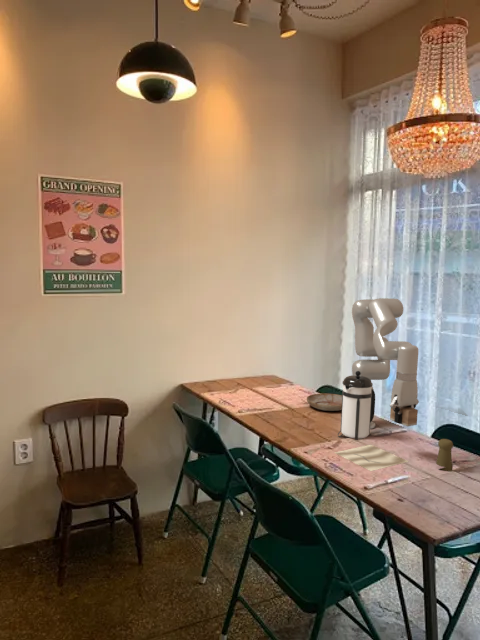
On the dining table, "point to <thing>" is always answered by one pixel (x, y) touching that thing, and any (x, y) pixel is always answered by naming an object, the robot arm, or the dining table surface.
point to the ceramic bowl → (326, 401)
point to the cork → (445, 455)
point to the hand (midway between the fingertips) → (403, 421)
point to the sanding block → (406, 416)
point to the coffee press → (357, 406)
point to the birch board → (371, 457)
